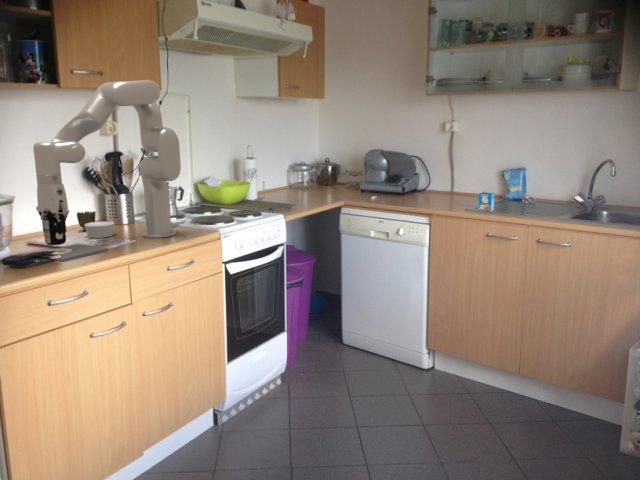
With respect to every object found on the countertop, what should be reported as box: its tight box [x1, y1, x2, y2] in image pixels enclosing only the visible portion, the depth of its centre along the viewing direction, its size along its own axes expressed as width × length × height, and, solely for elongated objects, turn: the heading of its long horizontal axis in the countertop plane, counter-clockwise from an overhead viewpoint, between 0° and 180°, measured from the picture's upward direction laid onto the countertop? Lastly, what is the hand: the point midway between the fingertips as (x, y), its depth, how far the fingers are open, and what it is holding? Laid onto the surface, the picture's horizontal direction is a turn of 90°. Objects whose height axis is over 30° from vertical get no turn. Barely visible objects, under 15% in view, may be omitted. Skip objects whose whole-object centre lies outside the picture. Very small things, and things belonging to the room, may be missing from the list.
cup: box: [76, 210, 97, 233], centre depth 236 cm, size 8×7×8 cm
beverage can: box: [42, 210, 67, 246], centre depth 192 cm, size 7×7×12 cm
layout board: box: [45, 243, 109, 263], centre depth 196 cm, size 18×16×1 cm
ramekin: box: [84, 220, 116, 239], centre depth 226 cm, size 11×11×5 cm
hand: (54, 231), depth 193 cm, fingers closed on beverage can, 6 cm apart
